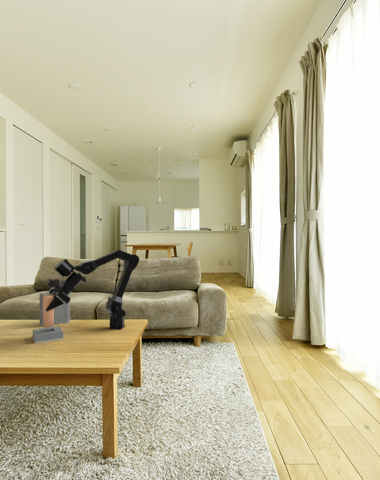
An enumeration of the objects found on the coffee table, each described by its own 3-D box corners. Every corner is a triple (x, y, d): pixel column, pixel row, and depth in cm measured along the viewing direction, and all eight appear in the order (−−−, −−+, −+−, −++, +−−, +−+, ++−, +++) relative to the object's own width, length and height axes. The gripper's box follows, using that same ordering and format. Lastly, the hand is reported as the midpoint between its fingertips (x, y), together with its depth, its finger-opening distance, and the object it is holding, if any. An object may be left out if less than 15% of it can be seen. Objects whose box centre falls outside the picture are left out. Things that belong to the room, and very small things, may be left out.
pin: (55, 325, 142) (55, 295, 142) (47, 328, 138) (47, 296, 139) (49, 324, 144) (49, 294, 145) (41, 326, 140) (40, 295, 141)
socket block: (59, 333, 151) (59, 326, 151) (63, 339, 142) (63, 331, 142) (32, 337, 145) (32, 329, 145) (34, 343, 136) (34, 335, 136)
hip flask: (40, 327, 164) (40, 289, 164) (38, 325, 167) (38, 288, 167) (70, 322, 175) (70, 286, 175) (68, 320, 178) (67, 285, 178)
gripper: (52, 271, 152) (27, 296, 145) (62, 273, 137) (35, 301, 130) (69, 286, 156) (46, 311, 149) (80, 289, 141) (55, 317, 134)
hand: (45, 309), depth 141 cm, fingers closed on pin, 4 cm apart
